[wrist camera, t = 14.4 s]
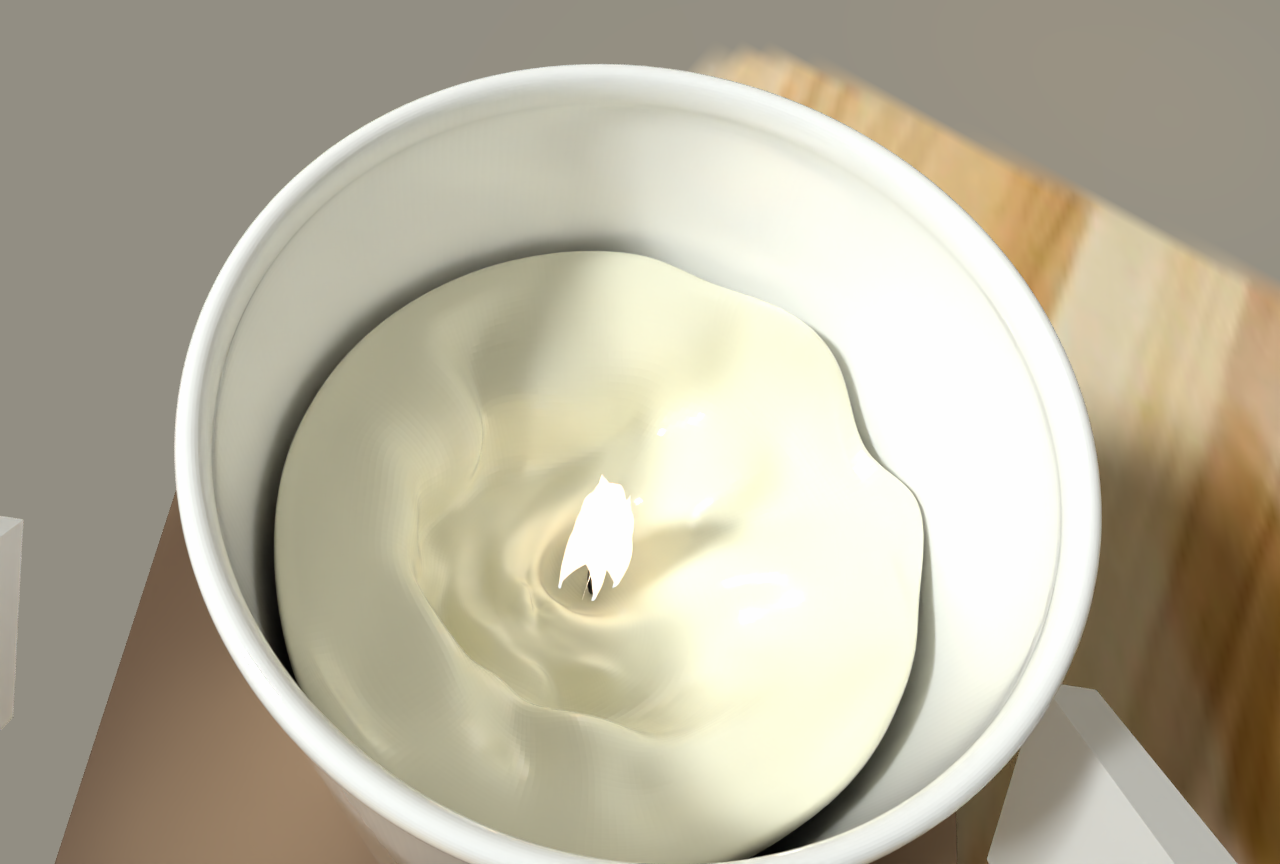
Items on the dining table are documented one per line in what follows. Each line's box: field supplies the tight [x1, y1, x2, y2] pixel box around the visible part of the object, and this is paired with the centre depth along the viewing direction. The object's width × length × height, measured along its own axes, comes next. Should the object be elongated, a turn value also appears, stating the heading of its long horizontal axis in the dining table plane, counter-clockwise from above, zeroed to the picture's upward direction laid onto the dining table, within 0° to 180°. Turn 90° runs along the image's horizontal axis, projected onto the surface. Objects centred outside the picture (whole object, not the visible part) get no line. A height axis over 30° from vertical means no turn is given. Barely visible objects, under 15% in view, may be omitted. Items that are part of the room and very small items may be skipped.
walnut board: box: [55, 491, 957, 864], centre depth 24 cm, size 16×14×2 cm
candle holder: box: [174, 64, 1102, 864], centre depth 18 cm, size 10×10×12 cm
